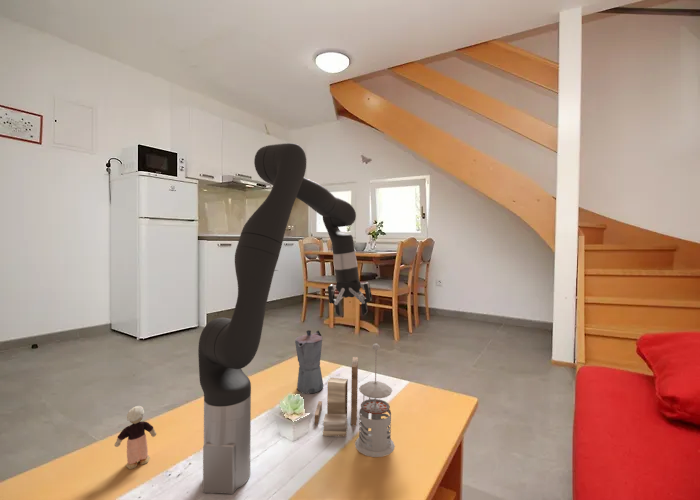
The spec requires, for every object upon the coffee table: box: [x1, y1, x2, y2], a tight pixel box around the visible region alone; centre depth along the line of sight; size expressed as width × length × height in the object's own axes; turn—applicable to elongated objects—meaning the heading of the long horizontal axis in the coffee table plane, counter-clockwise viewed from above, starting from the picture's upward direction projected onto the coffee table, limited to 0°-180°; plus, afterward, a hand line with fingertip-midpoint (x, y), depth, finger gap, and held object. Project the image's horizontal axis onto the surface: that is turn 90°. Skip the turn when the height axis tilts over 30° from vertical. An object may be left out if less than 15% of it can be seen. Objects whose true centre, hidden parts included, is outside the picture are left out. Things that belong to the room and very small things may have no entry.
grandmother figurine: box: [114, 405, 157, 470], centre depth 74 cm, size 8×4×13 cm, turn 141°
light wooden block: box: [326, 377, 349, 419], centre depth 94 cm, size 3×5×11 cm, turn 77°
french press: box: [354, 343, 396, 458], centre depth 83 cm, size 10×12×25 cm
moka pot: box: [294, 329, 324, 394], centre depth 115 cm, size 10×15×20 cm, turn 163°
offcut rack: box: [313, 356, 359, 427], centre depth 95 cm, size 8×12×16 cm
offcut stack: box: [322, 413, 348, 438], centre depth 88 cm, size 4×6×4 cm
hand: (352, 314), depth 111 cm, fingers open, 8 cm apart
